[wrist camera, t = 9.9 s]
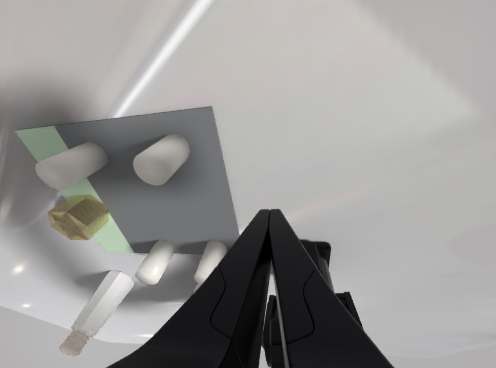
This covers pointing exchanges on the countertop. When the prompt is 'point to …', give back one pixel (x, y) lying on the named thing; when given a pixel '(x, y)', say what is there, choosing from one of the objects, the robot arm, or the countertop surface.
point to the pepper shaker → (97, 311)
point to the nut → (79, 217)
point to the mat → (146, 195)
